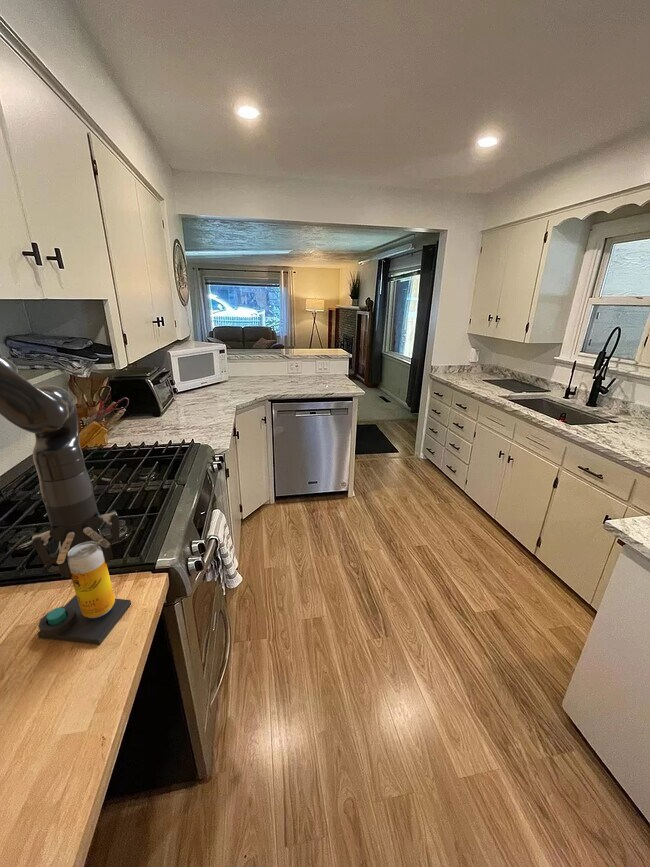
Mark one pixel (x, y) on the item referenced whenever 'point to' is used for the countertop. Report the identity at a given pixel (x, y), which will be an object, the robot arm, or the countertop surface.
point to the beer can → (91, 579)
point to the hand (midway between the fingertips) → (88, 567)
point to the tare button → (56, 616)
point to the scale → (83, 624)
